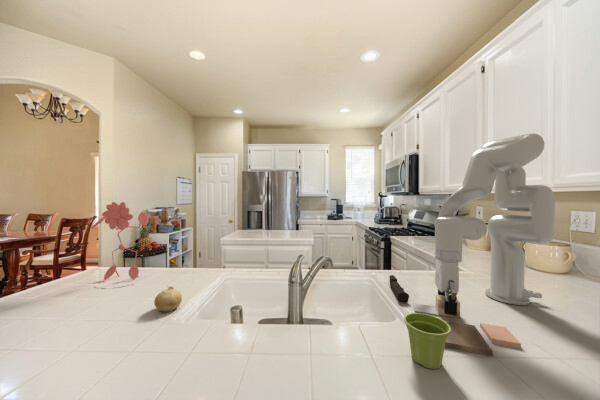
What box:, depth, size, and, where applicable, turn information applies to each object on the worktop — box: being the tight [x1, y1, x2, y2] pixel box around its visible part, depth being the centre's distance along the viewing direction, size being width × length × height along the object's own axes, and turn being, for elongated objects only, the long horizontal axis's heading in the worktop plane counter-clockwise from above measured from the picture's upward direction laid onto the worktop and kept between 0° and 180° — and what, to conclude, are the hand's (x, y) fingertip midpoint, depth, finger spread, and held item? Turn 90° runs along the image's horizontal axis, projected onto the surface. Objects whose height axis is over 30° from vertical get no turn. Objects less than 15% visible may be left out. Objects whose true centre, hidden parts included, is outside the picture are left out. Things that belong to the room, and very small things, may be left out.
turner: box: [412, 294, 461, 319], centre depth 76 cm, size 13×6×5 cm, turn 69°
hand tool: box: [389, 274, 410, 304], centre depth 91 cm, size 19×4×5 cm, turn 169°
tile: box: [479, 322, 522, 349], centre depth 62 cm, size 6×2×8 cm
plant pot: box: [403, 312, 451, 370], centre depth 53 cm, size 9×9×9 cm
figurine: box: [91, 201, 150, 290], centre depth 99 cm, size 15×26×35 cm, turn 89°
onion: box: [153, 285, 183, 313], centre depth 76 cm, size 8×8×7 cm
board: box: [442, 319, 494, 357], centre depth 62 cm, size 14×12×1 cm
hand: (446, 307), depth 75 cm, fingers open, 9 cm apart
